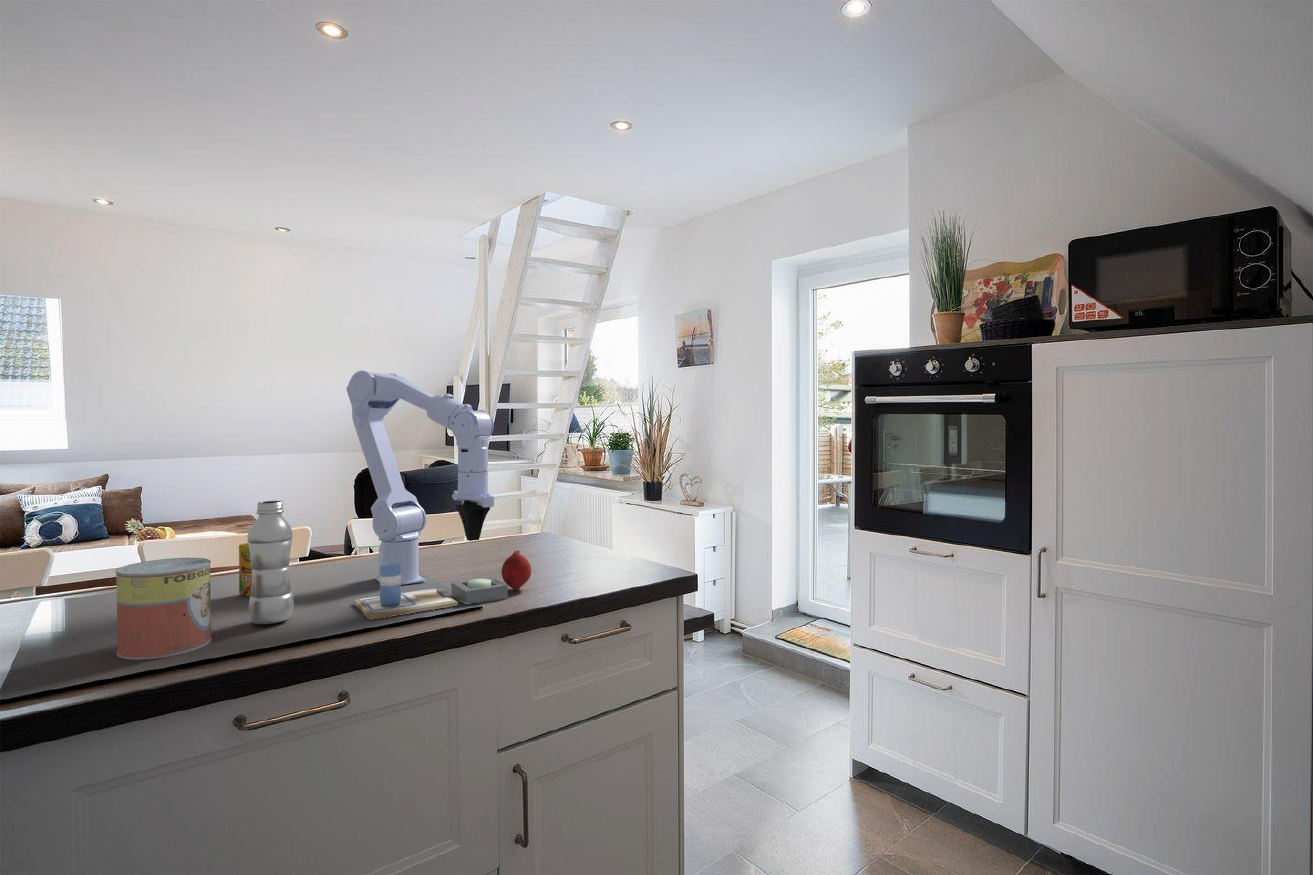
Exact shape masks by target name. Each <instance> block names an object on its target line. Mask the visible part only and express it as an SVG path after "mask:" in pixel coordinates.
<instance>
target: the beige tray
mask: <svg viewBox="0 0 1313 875" xmlns="http://www.w3.org/2000/svg"><path fill="white" fill-rule="evenodd" d="M353 601H354V602H353V604H354V606H355V607H356V608H357V609H358V610H359V611H360V610H361V611H362V612H363V613H364V614H363V613H362V612H361V611H360V612H361V613H362V614H363V615H364V616H365V617H366V618H367V619H368V621H370V620H371V621H374V620H373V619H377V620H379V619H378V618H383V619H385V618H384V617H389V616H393V615H400V614H406V613H411V612H418V611H423V610H433V611H436V610H435V609H439V608H443V607H449V606H455V605H458V606H459V601H458V600H457V599H455V598H454V597H453V596H452V594H451V593H450V592H449V591H447V590H446V589H443V588H440V589H439V588H437V587H436V588H435V587H434V588H426V589H420V590H413V591H408V592H401V601H400V605H398V606H396V607H389V608H385V607H381V603H380V595H378V596H372V597H365V598H363V597H362V598H357V599H354V600H353ZM439 610H440V609H439ZM389 618H390V617H389Z"/></svg>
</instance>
